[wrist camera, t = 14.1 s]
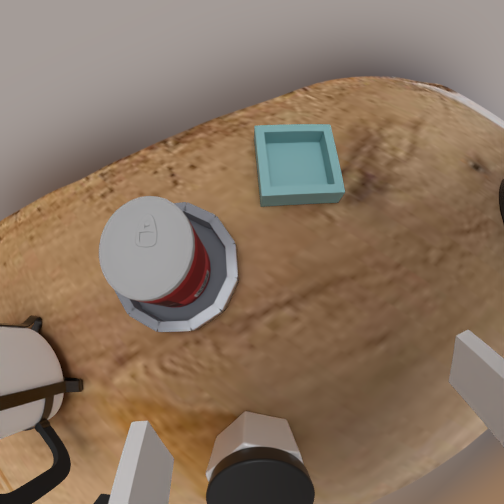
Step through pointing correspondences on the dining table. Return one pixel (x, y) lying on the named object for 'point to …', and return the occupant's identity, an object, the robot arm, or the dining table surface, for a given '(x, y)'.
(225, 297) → the round gray bowl
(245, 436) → the jar
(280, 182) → the square tray
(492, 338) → the dining table surface
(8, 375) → the coffee press
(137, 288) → the canned food
